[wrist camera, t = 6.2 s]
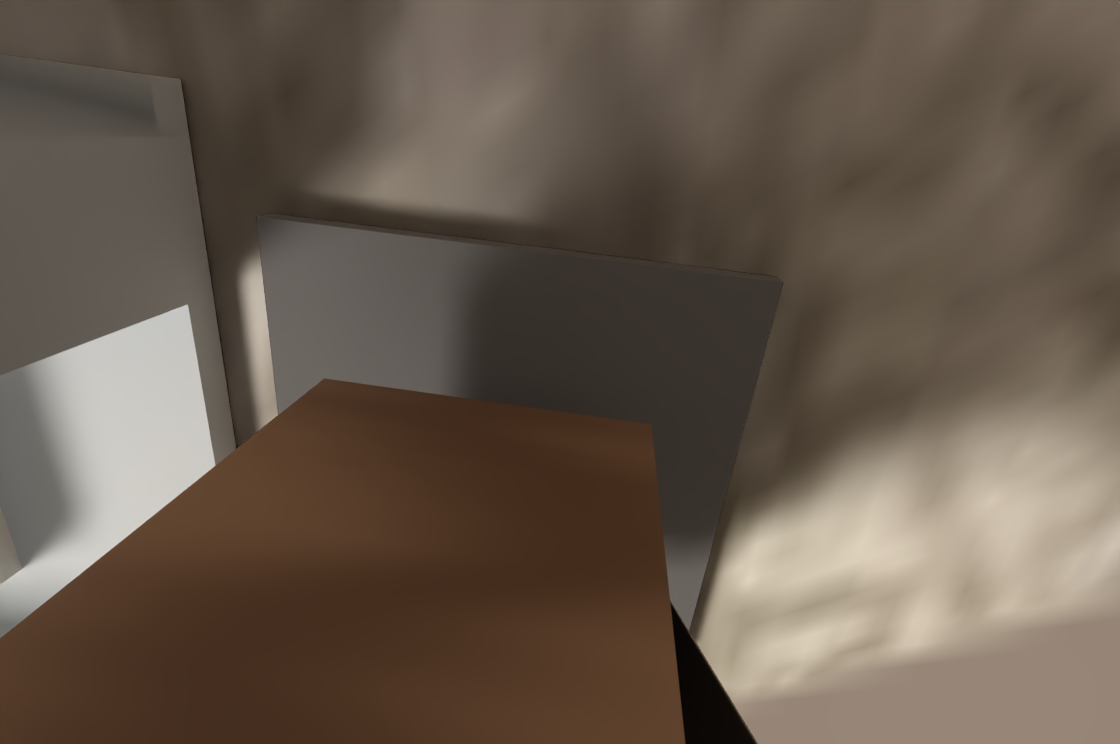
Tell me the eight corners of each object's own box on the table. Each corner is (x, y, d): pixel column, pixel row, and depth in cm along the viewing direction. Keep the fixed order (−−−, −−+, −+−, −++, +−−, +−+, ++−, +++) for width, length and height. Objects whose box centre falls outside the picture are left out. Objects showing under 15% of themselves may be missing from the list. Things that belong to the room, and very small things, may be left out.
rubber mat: (776, 276, 8) (783, 282, 8) (677, 650, 12) (679, 667, 11) (271, 213, 9) (255, 216, 8) (309, 591, 12) (299, 605, 12)
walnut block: (651, 423, 7) (741, 1282, 2) (605, 662, 9) (581, 1460, 4) (324, 377, 8) (-469, 1013, 2) (341, 618, 9) (-58, 1304, 4)
